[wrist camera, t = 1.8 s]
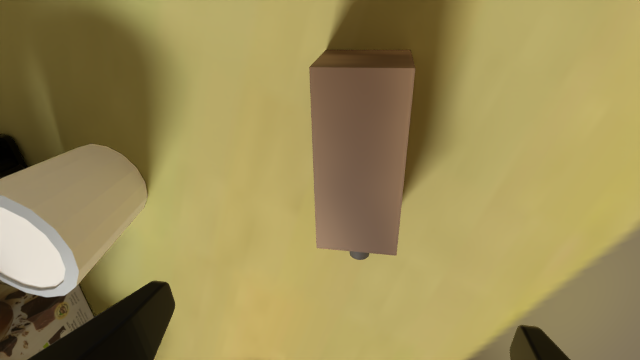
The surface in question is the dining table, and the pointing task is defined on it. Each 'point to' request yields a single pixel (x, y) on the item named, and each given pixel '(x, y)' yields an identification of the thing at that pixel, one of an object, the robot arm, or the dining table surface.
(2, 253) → the short tan cylinder
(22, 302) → the coffee box
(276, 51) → the dining table surface
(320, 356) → the dining table surface
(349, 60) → the walnut plug
